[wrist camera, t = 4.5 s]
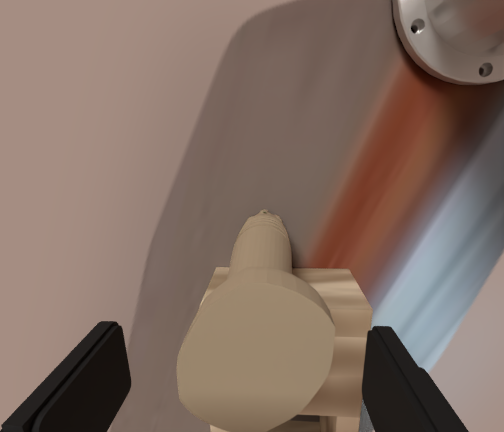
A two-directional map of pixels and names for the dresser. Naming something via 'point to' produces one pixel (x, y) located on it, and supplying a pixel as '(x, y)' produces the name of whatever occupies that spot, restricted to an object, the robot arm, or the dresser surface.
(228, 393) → the handle
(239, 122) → the dresser surface
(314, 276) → the socket block
